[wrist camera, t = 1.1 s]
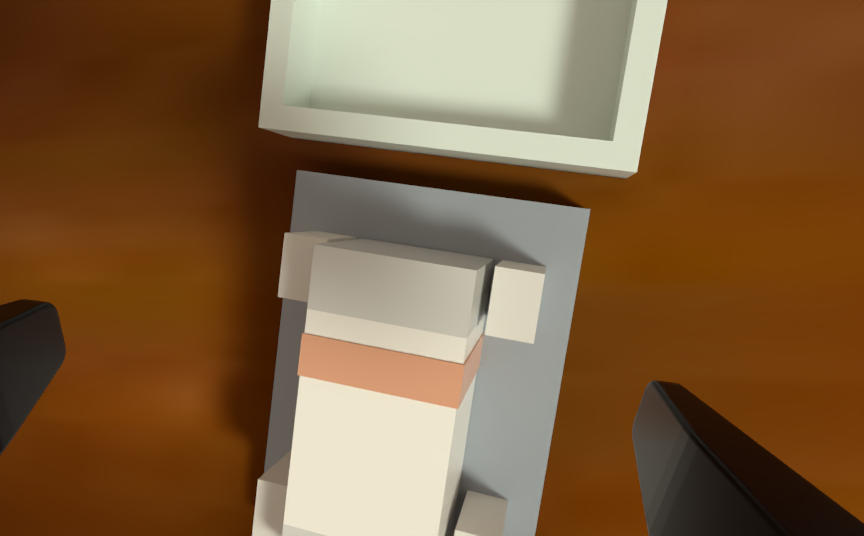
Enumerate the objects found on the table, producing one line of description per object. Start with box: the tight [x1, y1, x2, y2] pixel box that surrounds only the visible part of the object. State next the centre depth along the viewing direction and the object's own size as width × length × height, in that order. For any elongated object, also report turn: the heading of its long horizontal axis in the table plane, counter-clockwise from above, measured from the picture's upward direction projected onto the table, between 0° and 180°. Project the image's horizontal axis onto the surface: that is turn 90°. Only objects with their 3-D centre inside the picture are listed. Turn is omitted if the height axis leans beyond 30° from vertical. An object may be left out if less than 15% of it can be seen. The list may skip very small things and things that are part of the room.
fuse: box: [282, 238, 494, 536], centre depth 17 cm, size 10×5×4 cm, turn 172°
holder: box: [252, 170, 590, 536], centre depth 19 cm, size 14×10×4 cm
